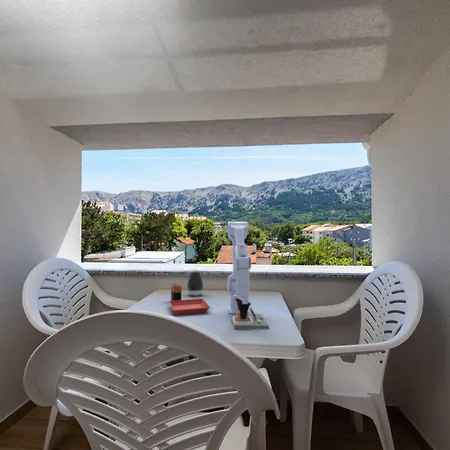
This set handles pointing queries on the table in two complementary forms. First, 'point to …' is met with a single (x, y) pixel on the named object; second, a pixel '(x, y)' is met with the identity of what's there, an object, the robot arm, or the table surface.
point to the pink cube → (240, 317)
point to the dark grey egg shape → (195, 283)
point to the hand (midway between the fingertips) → (242, 317)
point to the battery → (175, 292)
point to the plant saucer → (189, 306)
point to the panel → (250, 322)
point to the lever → (252, 312)
